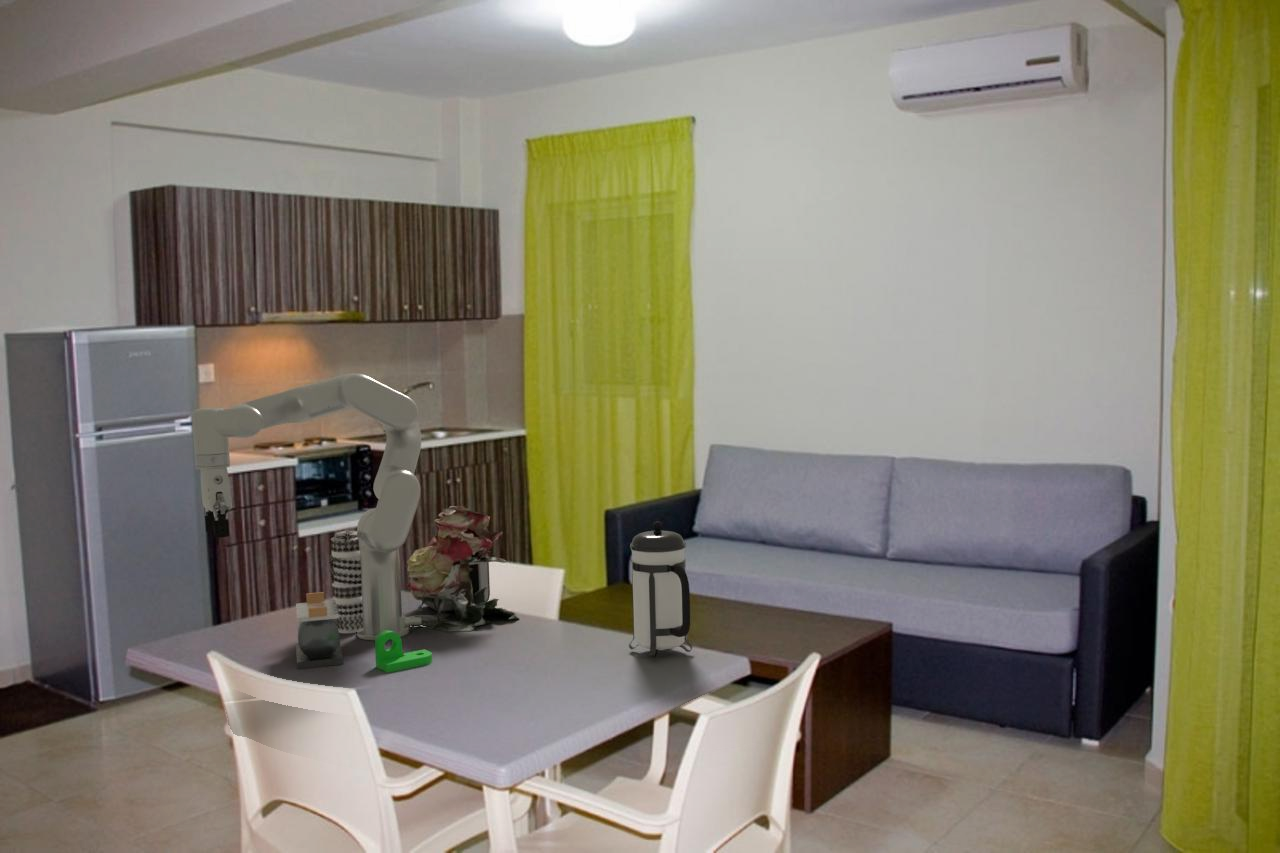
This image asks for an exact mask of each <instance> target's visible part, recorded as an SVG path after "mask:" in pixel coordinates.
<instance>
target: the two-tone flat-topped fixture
mask: <svg viewBox="0 0 1280 853" xmlns="http://www.w3.org/2000/svg"><path fill="white" fill-rule="evenodd" d="M305 595H306V602H300V603H295V610H296V621H297V623H296V629H297V642H298V644H295V655H296V668H297V670H301V669H303V670H304V669H311V668H320V667H322V668H323V667H331V666H338V665H339V666H340V665H344V656H343V651H342V647H341V642H340V641H341V640H340V639H341V638H340V633H339V631H338V627H337V622H336V619H337V618H339V613H338V609H337V605H336V601H335V600H334V599H333V600H331V599H330V600H325V592H324V591H319V592H308V593H306V594H305Z"/></svg>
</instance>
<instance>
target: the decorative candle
mask: <svg viewBox="0 0 1280 853" xmlns="http://www.w3.org/2000/svg"><path fill="white" fill-rule="evenodd" d="M330 541H331V554H329V556H328V558H329V560H330V561H329V565H330V567H331V568H330V570H329V572H330V573H331V575H330V579H331V581H332V580H333V581H332V583H331V586H332V587H333V600H335V601H336V605H337V609H338V613H339V618H337V619H336V622H337V627H338V631H339V634H355V633H356V632H358V630H360V629H362V628H363V607H362V585H361V562H360V551H359V544H358V537H357V530H342V531H341V530H340V531H337V532H336V533H334V535H333V537H331V538H330ZM356 634H357V633H356Z"/></svg>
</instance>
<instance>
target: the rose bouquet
mask: <svg viewBox="0 0 1280 853" xmlns="http://www.w3.org/2000/svg"><path fill="white" fill-rule="evenodd" d="M442 510H443V511H442V512H440V513H439V514H438V517H439V518H437V519H434V523H435V525H436V526H437V528H438V531H437V534H435V535H434V536H432V539H430V541H428V543H427V544H425V545H424V546H422V548H419V549H415V550H414V551H413V554H412V555H411V556H410V557H409V559H408V560H407V561H406V563H407V565H408V566H407V572H408V578H409V581H408V583H407V588H410V590H411V592H412V593H411V595H412V596H413V598H414V599H415V600H417V601H421V604H420V605H418V606H417V610H416V611H417V612H421V611H423V610H424V609H425V608H424V607H422V606H423V605H425V604H424V603H426V602H427V601H430V602H432V603H433V602H434V601H435V599H438V611H437V613H436V614H434V615H433V614H432V615H430V614H415V615H410V616H407V617H412V616H415V617H421V625H423V626H426V627H423V628H422V629H432V630H438V631H442V632H444V633H445V632H447V633H448V632H459V631H460V632H462V631H464V632H467V631H468V632H471V631H474V630H475V629H476V627H478V626H484V625H490V624H492V621H491V620H490V621H488V620H486V619H484V618H483V616H489V615H495V614H500V615H502V616H504V617H509V618H508V620H514V619H515V620H517V619H518V620H520V618H519V616H517V615H516V613H515V612H513V611H510V610H509V611H508V610H507V609H506V608H502V607H498V601H500V600H499V598H492V599H489V600H488V601H487V602H485V599H484V598H485V595H484V592H485V589H487V588H489V587H484V588H483V589H481V590H479V591H477V592H476V593H474V594H473V588H472V582H471V579H470V578H469V572H471V571H472V570H473V569H471V568H469V563H487V562H489V563H493V562H494V563H495V562H498V563H503V564H504V563H506V562H507V561H506V560H505V559H504V558H499V557H496V556H486V555H487V554H491V553H492V551H490V550H491V549H492V547H493V546H494V543H495V541H496V540H498V539H499V537H501V536H502V535H503V534H504V533H503V531H493V532H490V531H489V530H488V528H487V526H489V523H490V518H491V516H488V515H487V514H484V513H481V512H478V511H475V510H472V509H470V508H466V507H465V506H459V505H456V506H454V505H451V506H449V507H448V508H443V509H442ZM483 556H486V557H483ZM458 560H459V561H460V563H458V564H457V565H455V566H454V565H453V562H456V561H458ZM525 565H526V567H527V564H525ZM477 568H478V567H477ZM472 573H473V572H472ZM464 595H466V596H467V597H468V598H467V599H466V598H465V597H464ZM445 601H449V603H450V604H451V606H452V607H453V609H454V617H455V618H456V619H457V620H452V619H448V618H447V617H449V616H450V613H448V612H441V610H442V608H443V604H444V602H445ZM411 626H412V627H411V628H412V629H414V628H415V629H417V628H416V627H414V626H419V627H420V625H411Z"/></svg>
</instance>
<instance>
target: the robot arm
mask: <svg viewBox="0 0 1280 853" xmlns="http://www.w3.org/2000/svg"><path fill="white" fill-rule="evenodd" d="M349 410H356V411H358V412H360V413H362V414H363V415H366V416H367V417H370V418H371V419H373V420H375V421H377V422H379V423H380V424H381V426H382V427H383V428H384V432H385V434H386V442H385V447H384V451H383V456H382V458H381V462H380V464H379V468H378V471H377V473H376V476H375V479H374V482H373V488H372V489H373V492H374V495H375V497H376V499H378V500H377V504H376V507H374V508H370V509H368V510H366V511H365V512H364V513H362V515H361V516H360V518H359V520H358V522H357V527H356V531H357V537H358V544H359V551H360V562H361V585H362V607H363V628H362V629H360V630H358V632H357V633H356V635H357V638H359V639H361V640H364V641H376V638H377V637H378V635H379V634H380V633H382V632H383V631H387V630H389V631H392V632H395V633H397V634H398V635H399V636H400V638H402V637H405V636H406V635H408V634H409V633H410V627H409V625H421V617H415V616H414V615H411V616H412V617H408V616H406V615H405V614H404V613H403V607H402V586H401V585H402V584H401V560H400V559H401V558H400V550H399V549H400V548H401V547H402V546H403V545H404V544H405V542H406V541H407V538H408V536H409V533H410V530H411V527H412V524H413V521H414V518H415V515H416V511H417V510H418V509H417V508H418V506H419V502H420V498H421V484H420V482H419V479H418V478H417V476H416V475H415V471H416V468H417V465H418V461H419V456H420V453H421V448H422V433H421V428H420V425H419V422H418V419H419V408H418V405H417V404H416V402H415V400H414V399H412V398H411V397H409V396H408V395H405V394H403V393H402V392H399V391H397V390H395V389H393V388H391V387H389V386H387V385H386V384H383V383H381V382H379V381H377V380H375V379H374V378H372V377H370V376H368V375H366V374H363V373H355V372H351V373H346V374H342V375H338V376H335V377H332V378H331V377H330V378H328V379H327V378H326V379H324V380H321V381H316V382H314V383H309V384H304V385H302V386H298V387H294V388H291V389H287V390H285V391H283V392H279V393H275V394H271V395H267V396H263V397H259V398H255V399H252V400H249V401H245V402H241V403H238V404H235V405H233V406H231V407H230V408H221V407H206V408H197V409H195V410H193V412H192V416H191V417H192V418H191V419H192V420H191V421H192V434H193V436H192V438H193V448H194V449H193V450H194V463H195V464H194V465H195V470H200V488H201V501H202V506H203V508H204V524H205V532H206V533H213V534H214V535H213V536H214V538H215V539H221V538H229V537H230V522H229V515H228V510H231V509H232V508H233V504H232V492H231V485H230V479H229V473H228V472H229V471H228V468H230V467H231V458H230V448H229V447H230V444H229V442H230V441H229V438H237V439H238V438H239V439H240V438H241V439H249V438H253V437H255V436H257V435H258V434H259V433H260V432H261V431H262V430H264V429H268V428H271V427H275V426H276V427H278V426H280V425H281V426H282V425H286V424H294V423H295V424H300V423H301V424H302V423H306V422H307V423H308V422H311V421H314V420H315V421H316V420H317V419H321V418H325V417H328V416H332V415H335V414H339V413H343V412H345V411H349Z"/></svg>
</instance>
